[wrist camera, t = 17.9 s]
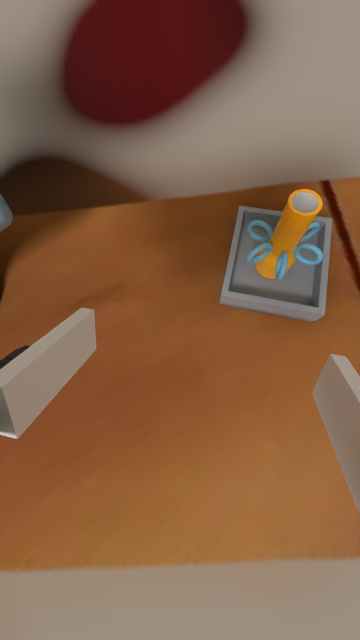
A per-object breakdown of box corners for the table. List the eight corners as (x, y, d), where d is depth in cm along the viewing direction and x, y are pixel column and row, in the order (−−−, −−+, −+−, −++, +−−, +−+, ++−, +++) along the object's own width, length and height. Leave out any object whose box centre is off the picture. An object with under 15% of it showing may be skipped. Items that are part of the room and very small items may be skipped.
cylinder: (286, 229, 47) (324, 155, 33) (318, 274, 44) (375, 214, 29) (227, 255, 46) (239, 190, 32) (255, 302, 43) (282, 254, 29)
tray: (219, 304, 44) (220, 295, 41) (236, 220, 49) (239, 205, 46) (313, 322, 42) (324, 315, 38) (321, 232, 47) (332, 218, 43)
